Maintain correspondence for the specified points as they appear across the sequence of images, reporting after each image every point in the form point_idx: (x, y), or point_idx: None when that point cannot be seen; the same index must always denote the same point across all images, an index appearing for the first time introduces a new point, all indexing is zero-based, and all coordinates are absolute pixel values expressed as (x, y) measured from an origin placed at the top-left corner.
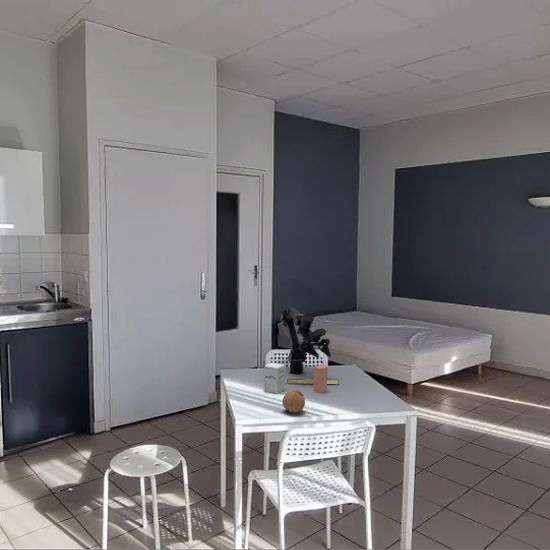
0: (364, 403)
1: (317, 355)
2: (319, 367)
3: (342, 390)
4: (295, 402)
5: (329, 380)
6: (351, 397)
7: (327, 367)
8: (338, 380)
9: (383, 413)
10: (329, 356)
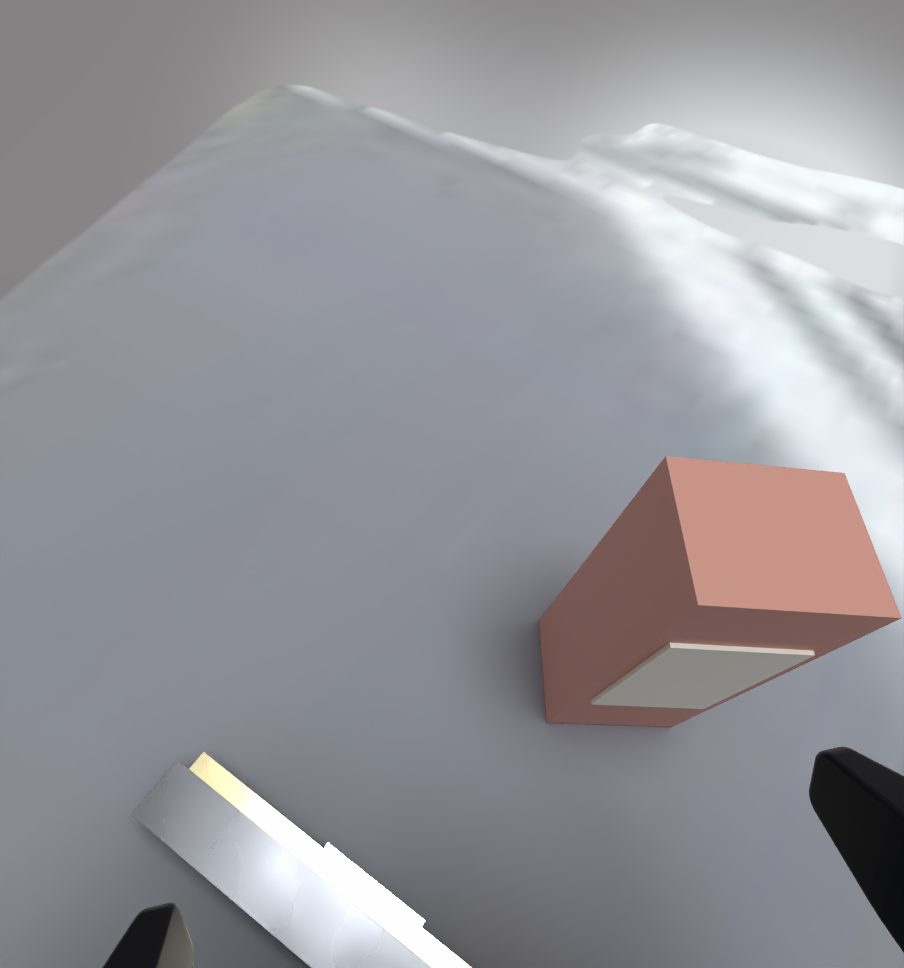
0: (441, 262)
1: (899, 787)
2: (816, 520)
3: (344, 561)
4: None
5: (305, 847)
6: (428, 382)
7: (665, 457)
8: (161, 783)
9: (468, 139)
10: (187, 946)
